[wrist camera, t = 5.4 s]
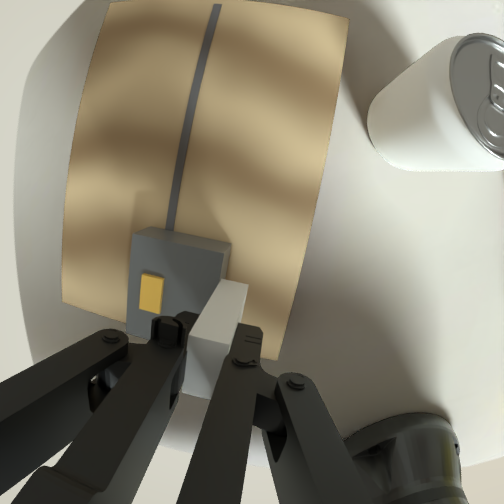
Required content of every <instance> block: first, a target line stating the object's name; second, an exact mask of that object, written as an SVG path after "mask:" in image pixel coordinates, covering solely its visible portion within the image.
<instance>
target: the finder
mask: <svg viewBox="0 0 504 504" xmlns="http://www.w3.org/2000/svg"><path fill="white" fill-rule="evenodd" d="M231 245H232V243H228V242H223V241H218V240H214V239H209V238H204V237H199V236H195V235H190V234H185V233H180V232H175V231H171V230H166V229H161V228H156V227H152V226H150V227H147V228H145V229H142V230H140V231H137V232H135V233H133V234H132V244H131V254H130V266H129V278H128V294H127V313H126V333H128V334H131V335H134V336H137V337H141V338H144V339H147V340H150V337H151V323H152V319H153V318H155V317H158V316H172V317H175V316H176V315H177V314H178V313H181V312H183V311H188V312H192V313H196V314H201V313H202V311H203V309H204V307H205V306H206V304H207V302H208V301H209V299H210V297H211V296H212V294H213V292H214V290H215V289H216V287H217V285H218V284H219V282H220V281H221V279H225V278H226V272H227V267H228V261H229V256H230V250H231Z"/></svg>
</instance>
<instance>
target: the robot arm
mask: <svg viewBox="0 0 504 504" xmlns="http://www.w3.org/2000/svg"><path fill="white" fill-rule="evenodd" d="M247 290H248V284H244V283H239V282H235V281H230V280H226V279H221V281H220V282H219V284H218V285H217V287H216V289H215V290H214V292H213V294H212V296H211V297H210V299H209V301H208V302H207V304H206V306H205V307H204V309H203V311H202V313H201V314H196V313H192V312H188V311H183V312H181V313H178V314H177V315H176V316H175V317H172V316H158V317H155V318H153V319H152V323H151V337H150V340H149V341H148V343H147V344H134V343H128V340H129V338H128V336H127V335H126V334H125V333H123V332H122V331H119V330H116V329H103V330H100V331H98V332H96V333H94V334H92V335H90V336H88V337H86V338H85V339H83V340H81V341H79V342H77V343H75V344H73V345H71V346H69V347H67V348H65V349H64V350H62V351H60V352H58V353H56V354H54V355H52V356H50V357H48V358H46V359H45V360H43V361H41V362H39V363H37V364H35V365H33V366H31V367H29V368H27V369H26V370H24V371H22V372H20V373H18V374H16V375H14V376H12V377H10V378H9V379H7V380H5V381H3V382H1V383H0V496H1V495H2V494H3V493H5V492H6V491H7V490H9V489H10V488H11V487H13V486H14V485H16V484H17V483H18V482H20V481H21V480H22V479H24V478H25V477H26V476H28V475H29V474H30V473H32V472H33V471H34V470H36V469H37V468H38V467H39V468H38V469H37V470H36V471H35V472H34V473H33V474H32V476H31V477H30V478H29V480H28V481H27V482H26V484H25V485H24V486H23V488H22V489H21V490H20V492H19V493H18V495H17V496H16V497H15V498H14V500H13V501H12V503H11V504H131V503H132V501H133V499H134V497H135V495H136V493H137V490H138V488H139V486H140V484H141V481H142V479H143V477H144V475H145V473H146V470H147V468H148V466H149V464H150V462H151V459H152V457H153V455H154V453H155V450H156V448H157V446H158V444H159V442H160V439H161V437H162V435H163V433H164V431H165V428H166V426H167V424H168V422H169V420H170V417H171V415H172V413H173V411H174V409H175V406H176V404H177V402H178V398H179V390H180V388H181V386H182V393H185V394H189V395H192V396H196V397H200V398H204V399H208V400H211V401H210V404H209V407H208V410H207V413H206V416H205V419H204V422H203V425H202V428H201V431H200V434H199V437H198V440H197V443H196V446H195V449H194V452H193V455H192V458H191V461H190V464H189V467H188V470H187V473H186V476H185V479H184V482H183V485H182V488H181V491H180V494H179V497H178V500H177V502H176V504H240V502H241V496H242V490H243V483H244V477H245V471H246V464H247V458H248V451H249V444H250V437H251V430H252V425H254V426H256V427H259V428H261V429H262V437H263V441H264V445H265V449H266V453H267V457H268V461H269V465H270V469H271V473H272V477H273V481H274V484H275V488H276V492H277V496H278V500H279V504H469V503H468V501H467V498H466V496H465V494H464V491H463V489H462V486H461V465H460V459H459V452H460V448H459V442H458V439H457V436H456V434H455V433H454V431H453V429H452V427H451V425H450V424H449V423H448V422H447V421H446V420H445V419H444V418H442V417H440V416H437V415H434V414H428V413H412V414H405V415H400V416H396V417H392V418H389V419H385V420H383V421H380V422H377V423H375V424H373V425H370V426H368V427H366V428H364V429H362V430H361V431H359V432H357V433H355V434H354V435H352V436H351V437H349V438H348V439H346V440H345V441H344V442H343V440H342V438H341V436H340V434H339V433H338V431H337V429H336V427H335V425H334V423H333V421H332V419H331V417H330V415H329V413H328V411H327V409H326V407H325V405H324V403H323V401H322V399H321V397H320V394H319V392H318V390H317V388H316V386H315V384H314V383H313V382H312V380H311V379H309V378H308V377H306V376H304V375H302V374H299V373H293V372H291V373H284V374H282V375H280V377H279V378H276V377H273V376H271V375H269V374H268V373H266V372H265V371H264V370H263V369H262V368H261V366H260V355H261V348H262V340H263V332H262V330H261V328H260V327H257V326H252V325H248V324H243V323H241V319H242V314H243V310H244V305H245V300H246V295H247ZM94 376H96V379H94V380H93V381H91V379H92V378H93V377H94ZM182 384H183V385H182ZM72 441H73V442H72ZM71 442H72V443H71ZM69 443H71V444H70V446H69V447H68V448H67V450H66V451H65V452H64V454H63V456H62V457H61V458H60V459H59V461H58V462H57V463H56V465H54V466H53V467H48V466H42V467H40V466H41V465H42V464H43V463H45V462H46V461H47V460H49V459H50V458H51V457H52V456H54V455H55V454H56V453H58V452H59V451H60V450H62V449H63V448H64V447H65V446H67V445H68V444H69Z"/></svg>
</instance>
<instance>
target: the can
mask: <svg viewBox="0 0 504 504" xmlns="http://www.w3.org/2000/svg"><path fill="white" fill-rule="evenodd" d="M367 127H368V132H369V136H370V139H371V141H372V143H373V145H374V147H375V149H376V150H377V152H378V153H379V154H380V155H381V156H382V158H383V159H384V160H386V161H387V162H388V163H389V164H391V165H393V166H395V167H397V168H400V169H404V170H409V171H476V172H489V171H500V170H504V41H503V40H501V39H499V38H497V37H495V36H493V35H489V34H485V33H473V34H469V35H467V36H456V37H452V38H449V39H446V40H444V41H442V42H441V43H439V44H438V45H436V46H435V47H433V48H432V49H431V50H430V51H428V52H427V53H426V54H424V55H423V56H422V57H421V58H420V59H418V60H417V61H416V62H415V63H413V64H412V65H411V66H410V67H408V68H407V69H406V70H405V71H404V72H402V73H401V74H400V75H399V76H398V77H396V78H395V79H394V80H393V81H392V82H391V83H389V84H388V85H387V86H386V87H385V88H384V89H383V90H381V91H380V92H379V93H378V94H377V95H376V97H375V98H374V99H373V101H372V103H371V105H370V107H369V110H368V116H367Z"/></svg>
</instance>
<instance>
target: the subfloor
mask: <svg viewBox="0 0 504 504" xmlns="http://www.w3.org/2000/svg"><path fill="white" fill-rule="evenodd" d="M349 20H350V19H348V18H345V17H341V16H337V15H332V14H328V13H323V12H319V11H314V10H309V9H304V8H298V7H292V6H286V5H280V4H273V3H265V2H256V1H246V0H130V1H120V2H112V3H110V5H109V8H108V11H107V13H106V16H105V19H104V22H103V25H102V27H101V30H100V33H99V36H98V39H97V43H96V46H95V49H94V52H93V56H92V59H91V63H90V66H89V70H88V73H87V77H86V81H85V85H84V89H83V93H82V98H81V102H80V106H79V111H78V116H77V121H76V126H75V131H74V137H73V143H72V149H71V155H70V162H69V169H68V177H67V186H66V195H65V206H64V219H63V237H62V302H64V303H67V304H69V305H72V306H75V307H78V308H81V309H84V310H87V311H90V312H92V313H95V314H98V315H101V316H105V317H108V318H111V319H114V320H117V321H120V322H123V323H126V313H127V294H128V278H129V266H130V254H131V244H132V234H133V233H135V232H137V231H140V230H142V229H145V228H147V227H150V226H152V227H156V228H161V229H166V230H171V231H175V232H180V233H185V234H190V235H195V236H199V237H204V238H209V239H214V240H218V241H223V242H228V243H232V245H231V250H230V256H229V261H228V267H227V272H226V278H225V279H226V280H230V281H235V282H239V283H244V284H248V290H247V295H246V300H245V305H244V310H243V314H242V319H241V323H243V324H248V325H252V326H257V327H260V328H261V330H262V332H263V340H262V348H261V355H260V358H265V359H270V360H276V361H277V360H278V356H279V352H280V349H281V345H282V342H283V338H284V334H285V330H286V327H287V323H288V319H289V315H290V312H291V308H292V304H293V300H294V296H295V292H296V288H297V284H298V280H299V276H300V272H301V268H302V264H303V260H304V256H305V251H306V247H307V243H308V239H309V234H310V230H311V226H312V221H313V217H314V212H315V208H316V203H317V199H318V194H319V189H320V185H321V180H322V175H323V170H324V165H325V160H326V155H327V150H328V145H329V140H330V135H331V130H332V124H333V119H334V113H335V108H336V102H337V97H338V91H339V85H340V79H341V73H342V67H343V60H344V54H345V48H346V41H347V34H348V27H349Z"/></svg>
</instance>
